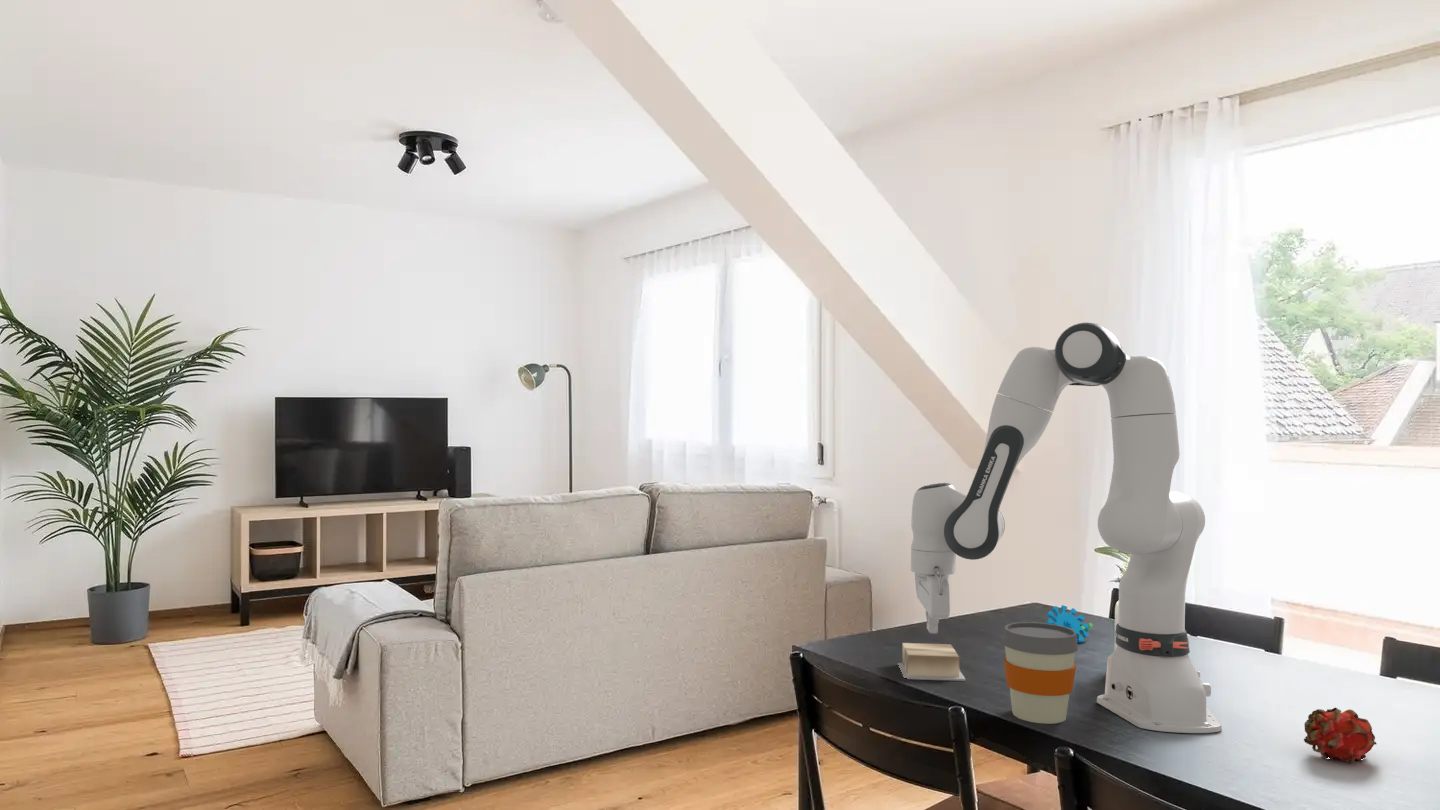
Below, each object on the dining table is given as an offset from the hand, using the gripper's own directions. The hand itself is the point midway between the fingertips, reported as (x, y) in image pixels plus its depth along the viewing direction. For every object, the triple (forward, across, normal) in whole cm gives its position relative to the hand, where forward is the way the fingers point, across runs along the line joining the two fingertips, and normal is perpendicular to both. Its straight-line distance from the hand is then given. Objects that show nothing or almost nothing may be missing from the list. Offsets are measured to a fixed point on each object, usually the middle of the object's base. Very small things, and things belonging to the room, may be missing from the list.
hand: (932, 631), depth 193 cm
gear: (+9, +33, -37) cm, 50 cm away
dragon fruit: (+9, -40, -57) cm, 70 cm away
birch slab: (+6, +7, 0) cm, 10 cm away
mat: (+9, +1, 0) cm, 9 cm away
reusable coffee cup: (+9, -24, -15) cm, 30 cm away
